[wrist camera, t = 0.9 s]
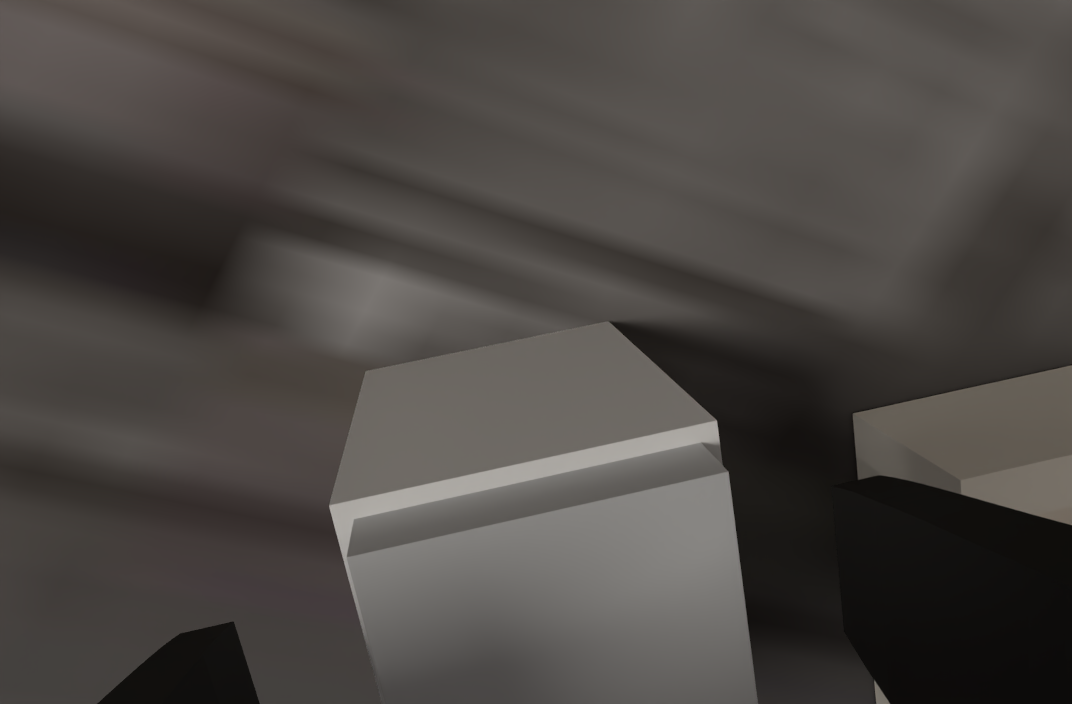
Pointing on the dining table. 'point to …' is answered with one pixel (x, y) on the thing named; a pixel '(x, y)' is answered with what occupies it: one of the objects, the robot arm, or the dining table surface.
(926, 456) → the walled box
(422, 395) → the grey plug
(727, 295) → the dining table surface
